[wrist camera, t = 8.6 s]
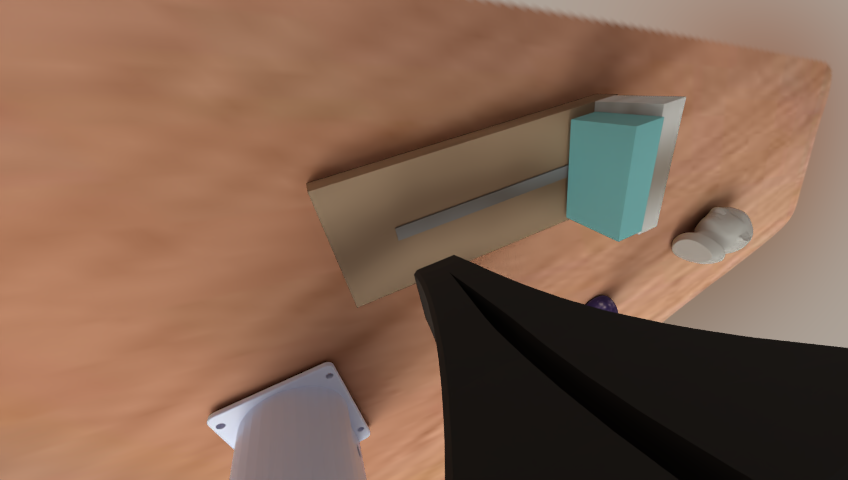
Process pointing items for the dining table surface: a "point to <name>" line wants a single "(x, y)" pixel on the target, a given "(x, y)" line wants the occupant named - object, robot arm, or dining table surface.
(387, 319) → the dining table surface
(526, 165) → the clamp board
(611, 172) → the sliding jaw
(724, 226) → the pale two-lobed sculpture
